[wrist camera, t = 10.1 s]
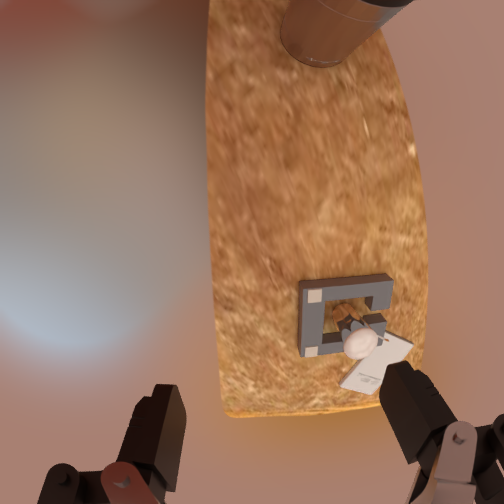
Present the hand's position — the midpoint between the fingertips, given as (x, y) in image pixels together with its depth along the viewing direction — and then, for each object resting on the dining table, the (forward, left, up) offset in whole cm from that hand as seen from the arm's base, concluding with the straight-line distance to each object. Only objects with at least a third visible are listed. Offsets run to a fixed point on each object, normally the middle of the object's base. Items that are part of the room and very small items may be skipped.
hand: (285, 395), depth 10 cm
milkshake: (+13, +12, -27) cm, 33 cm away
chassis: (+13, +12, -27) cm, 32 cm away
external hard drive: (+25, +20, -28) cm, 42 cm away
